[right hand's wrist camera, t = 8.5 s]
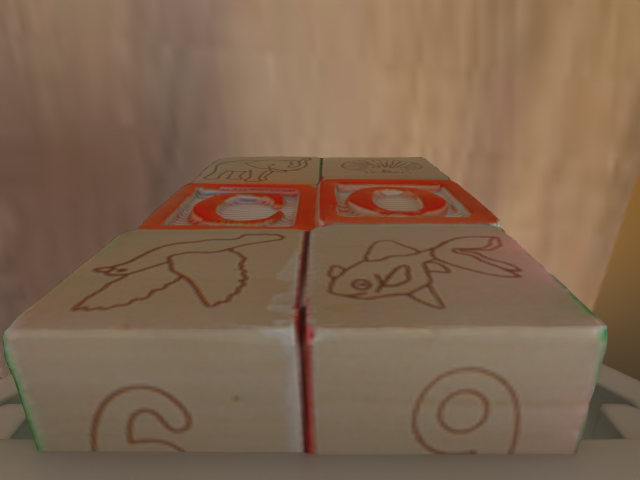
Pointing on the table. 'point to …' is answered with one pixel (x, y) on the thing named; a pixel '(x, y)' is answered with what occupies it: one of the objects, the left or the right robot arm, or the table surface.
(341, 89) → the table surface
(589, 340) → the stack of blocks
